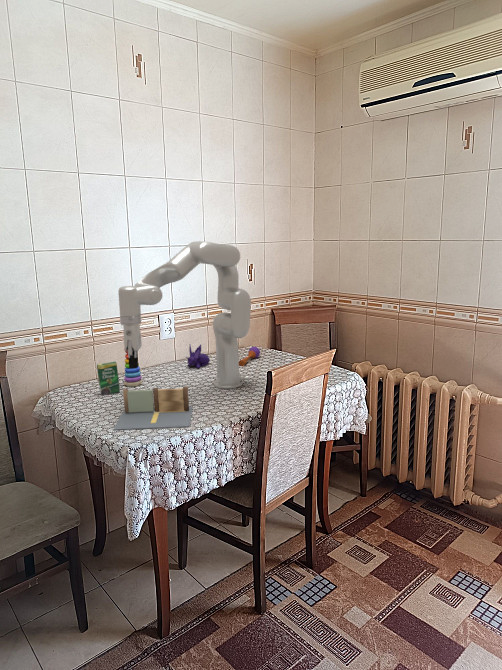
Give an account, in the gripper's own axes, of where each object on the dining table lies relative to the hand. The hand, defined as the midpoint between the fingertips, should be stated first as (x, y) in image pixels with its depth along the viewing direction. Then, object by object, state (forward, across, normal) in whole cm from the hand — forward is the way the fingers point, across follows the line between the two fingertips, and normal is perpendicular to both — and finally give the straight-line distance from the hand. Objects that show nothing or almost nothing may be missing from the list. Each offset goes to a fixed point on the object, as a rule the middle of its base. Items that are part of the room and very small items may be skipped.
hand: (133, 367), depth 186 cm
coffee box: (+17, +20, +14) cm, 30 cm away
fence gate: (+15, -5, -2) cm, 16 cm away
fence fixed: (+16, -5, -14) cm, 22 cm away
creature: (+16, +56, -21) cm, 62 cm away
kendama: (+15, +62, -47) cm, 79 cm away
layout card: (+16, -11, -9) cm, 21 cm away
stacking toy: (+16, +31, +6) cm, 35 cm away
